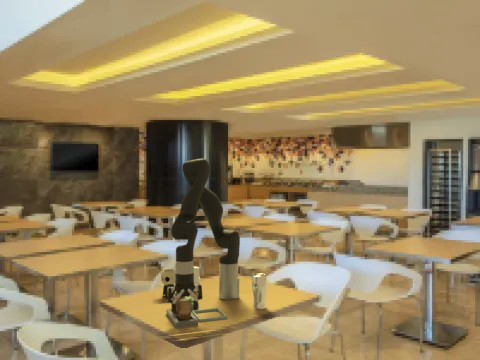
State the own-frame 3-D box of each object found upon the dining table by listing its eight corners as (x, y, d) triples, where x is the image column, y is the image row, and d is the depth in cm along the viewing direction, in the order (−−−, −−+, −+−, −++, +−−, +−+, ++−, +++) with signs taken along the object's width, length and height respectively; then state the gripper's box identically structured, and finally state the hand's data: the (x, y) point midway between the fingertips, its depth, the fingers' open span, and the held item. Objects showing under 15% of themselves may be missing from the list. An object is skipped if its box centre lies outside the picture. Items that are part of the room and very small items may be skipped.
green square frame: (218, 312, 202) (218, 307, 202) (227, 320, 191) (227, 315, 191) (191, 315, 198) (191, 310, 198) (199, 324, 187) (199, 319, 186)
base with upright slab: (203, 289, 240) (203, 266, 240) (191, 292, 234) (191, 269, 233) (192, 286, 246) (192, 264, 246) (179, 289, 239) (179, 266, 239)
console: (193, 307, 209) (193, 298, 209) (198, 312, 202) (198, 303, 202) (176, 308, 207) (176, 300, 206) (181, 314, 199) (181, 305, 199)
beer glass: (251, 305, 212) (251, 273, 212) (266, 305, 213) (266, 273, 213) (252, 309, 205) (253, 276, 205) (268, 309, 206) (268, 276, 206)
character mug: (156, 296, 227) (155, 270, 226) (166, 293, 233) (166, 267, 232) (171, 299, 220) (171, 273, 220) (182, 296, 226) (182, 270, 226)
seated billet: (183, 313, 197) (183, 292, 197) (186, 317, 192) (186, 295, 192) (172, 314, 195) (172, 293, 195) (174, 318, 190) (174, 296, 190)
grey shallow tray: (166, 316, 196) (166, 309, 196) (186, 313, 200) (186, 307, 199) (176, 330, 180) (176, 322, 179) (198, 327, 183) (198, 319, 183)
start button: (191, 307, 207) (191, 296, 207) (193, 310, 203) (193, 299, 203) (181, 308, 206) (181, 297, 205) (184, 311, 201) (184, 300, 201)
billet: (192, 323, 184) (192, 301, 184) (180, 325, 182) (179, 303, 182) (189, 319, 189) (189, 298, 188) (177, 321, 187) (177, 299, 187)
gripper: (199, 268, 191) (199, 306, 191) (165, 270, 186) (165, 310, 186) (204, 272, 184) (204, 311, 184) (169, 275, 179) (169, 316, 179)
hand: (184, 311), depth 185 cm, fingers open, 8 cm apart
